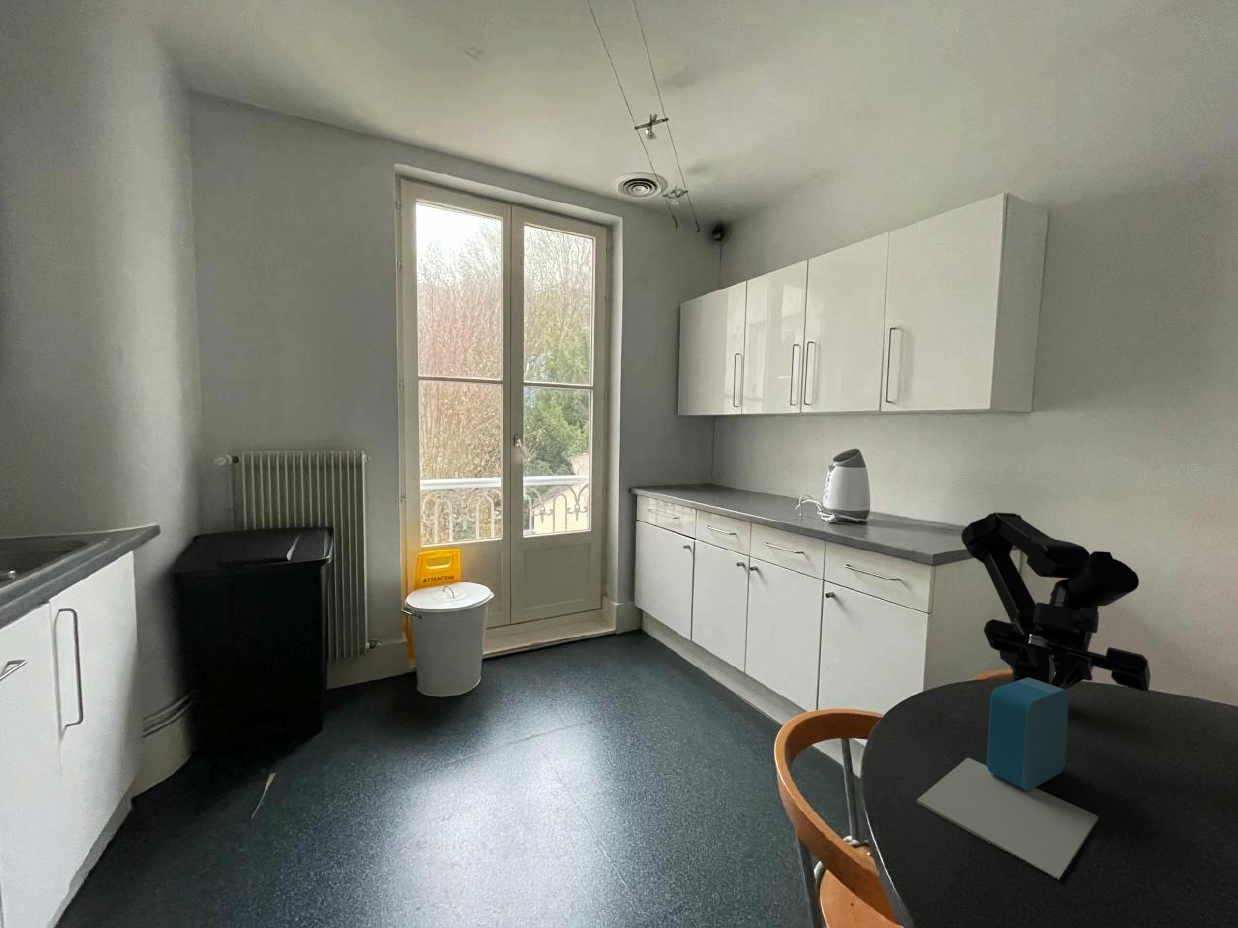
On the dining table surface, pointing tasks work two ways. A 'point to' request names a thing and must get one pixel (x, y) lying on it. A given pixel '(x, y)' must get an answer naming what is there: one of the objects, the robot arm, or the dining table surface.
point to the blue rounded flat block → (1027, 732)
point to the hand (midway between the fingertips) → (1047, 700)
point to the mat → (1011, 816)
